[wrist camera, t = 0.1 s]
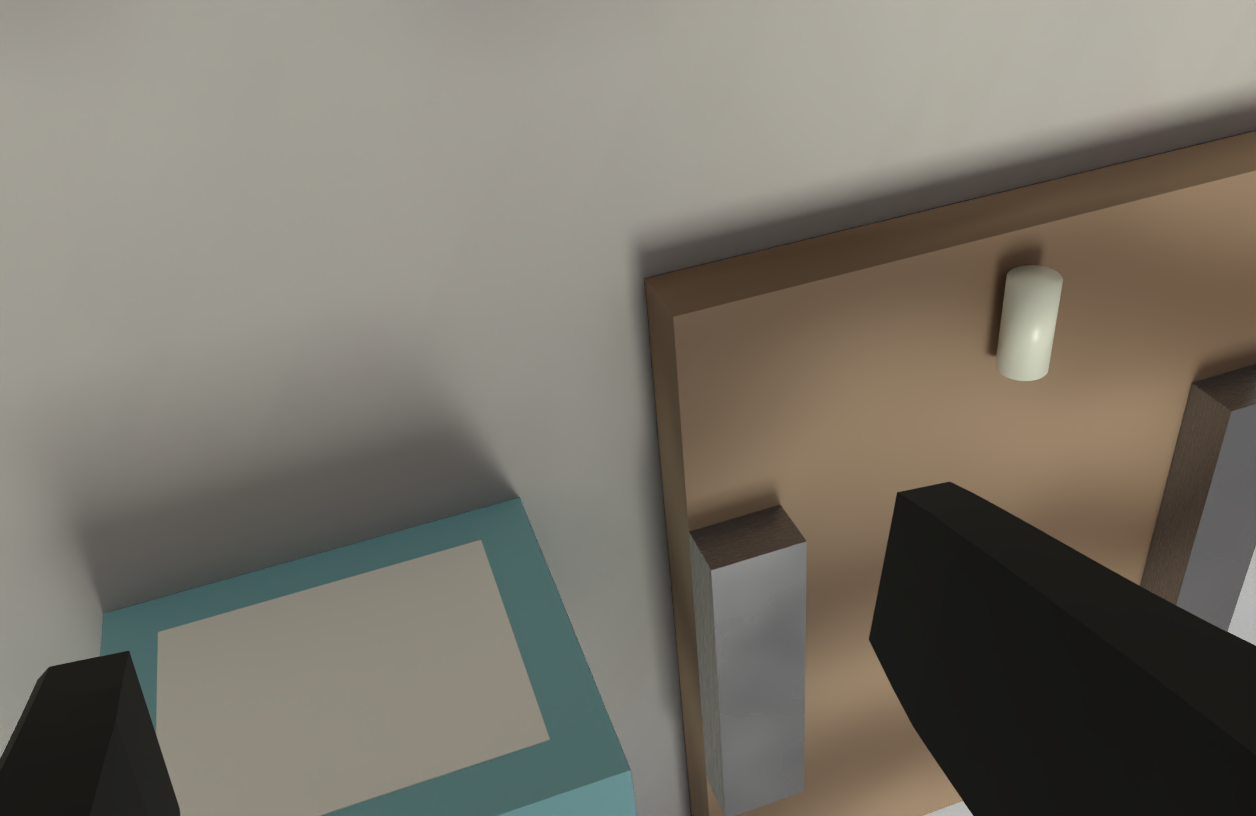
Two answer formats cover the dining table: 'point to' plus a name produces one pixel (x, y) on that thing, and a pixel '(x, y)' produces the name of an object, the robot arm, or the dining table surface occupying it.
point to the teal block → (380, 683)
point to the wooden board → (942, 444)
